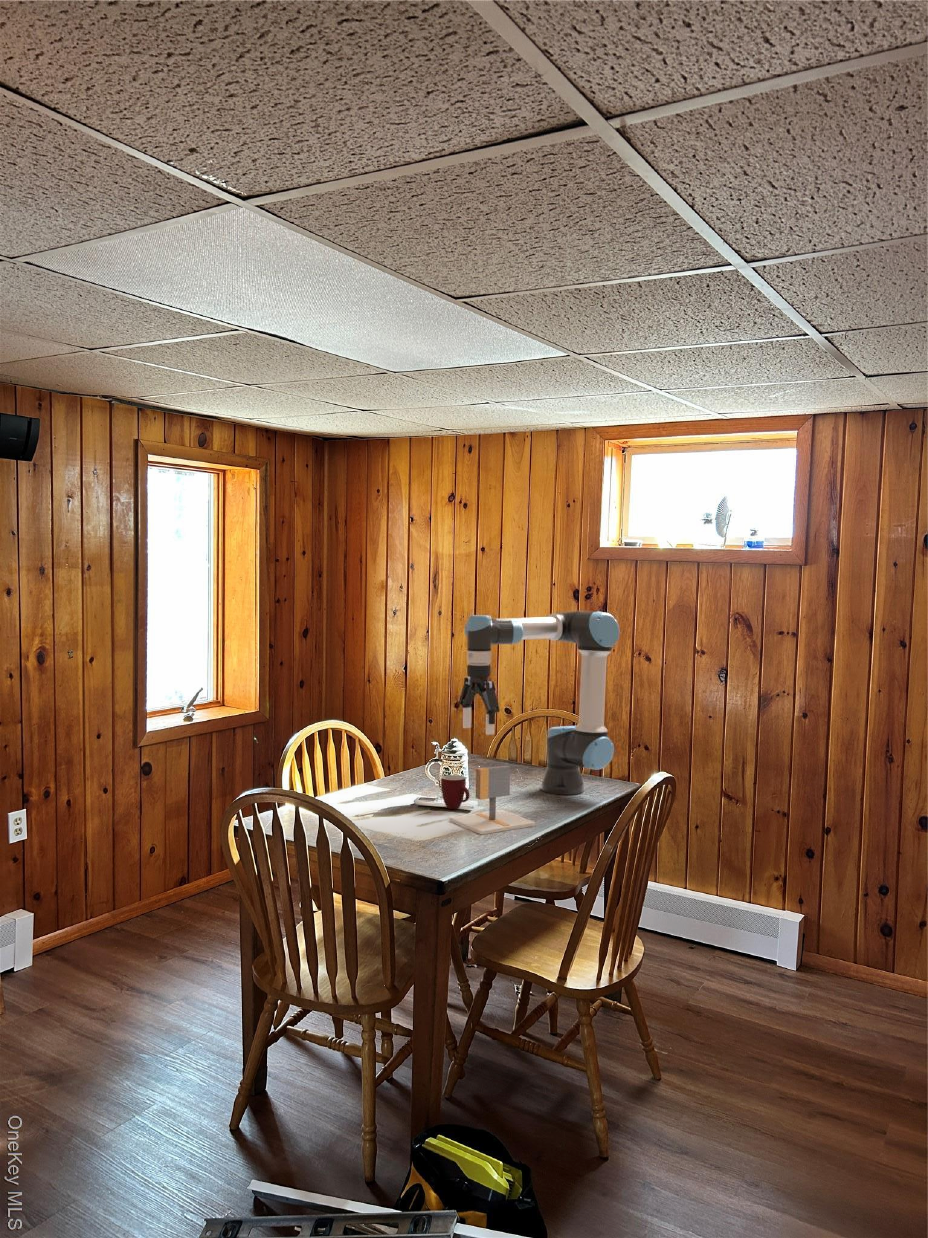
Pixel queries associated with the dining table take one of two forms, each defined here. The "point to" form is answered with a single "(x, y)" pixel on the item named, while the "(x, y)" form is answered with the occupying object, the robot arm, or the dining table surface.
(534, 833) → the dining table surface
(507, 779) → the grey slab
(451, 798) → the mug
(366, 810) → the dining table surface
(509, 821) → the post base
